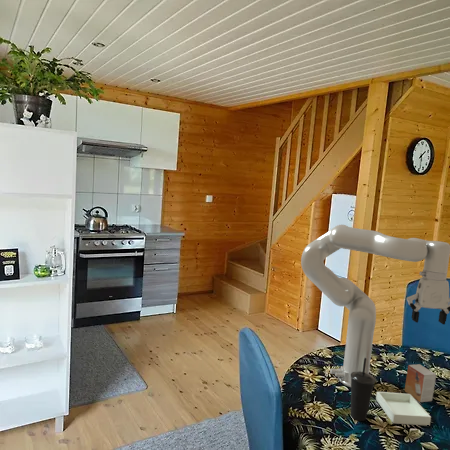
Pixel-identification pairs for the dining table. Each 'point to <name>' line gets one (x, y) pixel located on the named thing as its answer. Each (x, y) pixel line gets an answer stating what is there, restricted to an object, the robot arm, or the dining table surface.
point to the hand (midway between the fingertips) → (428, 322)
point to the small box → (420, 383)
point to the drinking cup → (361, 393)
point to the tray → (403, 408)
